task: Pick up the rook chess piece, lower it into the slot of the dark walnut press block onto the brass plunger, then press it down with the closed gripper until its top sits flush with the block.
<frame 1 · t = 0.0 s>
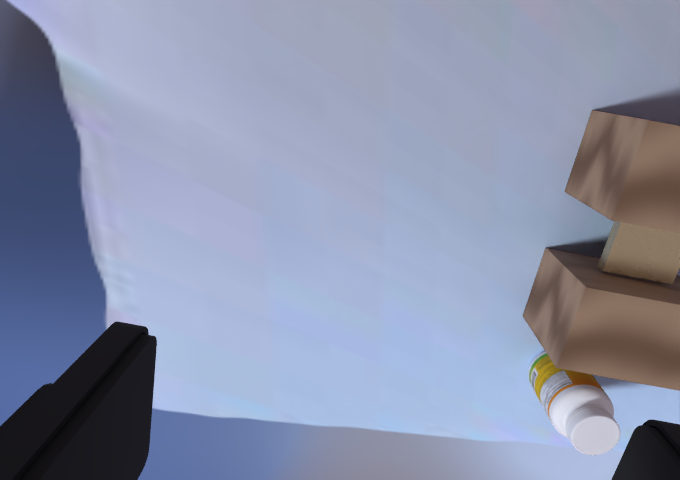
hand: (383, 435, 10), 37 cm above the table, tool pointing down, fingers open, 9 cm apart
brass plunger: (645, 249, 42), point 4 cm above the table, slide at 0.0 cm
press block: (619, 232, 46), on the table
supplement bottle: (553, 368, 51), on the table
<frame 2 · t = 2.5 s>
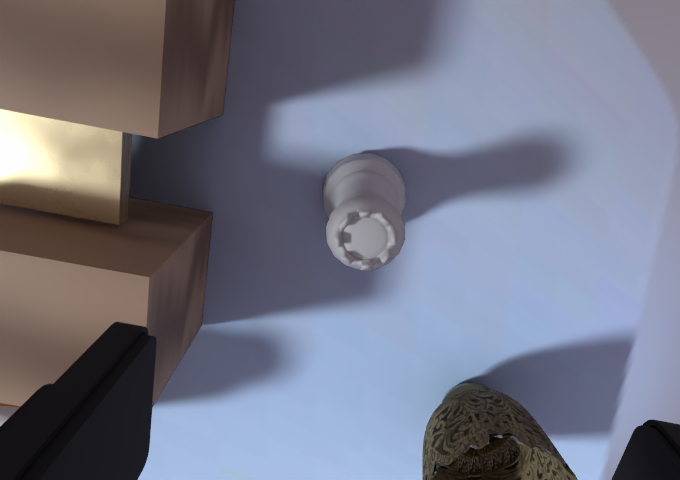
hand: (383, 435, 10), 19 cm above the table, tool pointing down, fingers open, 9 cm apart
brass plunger: (59, 159, 23), point 5 cm above the table, slide at 0.0 cm
cup: (467, 400, 32), on the table
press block: (106, 144, 27), on the table
rook chess piece: (363, 191, 27), on the table
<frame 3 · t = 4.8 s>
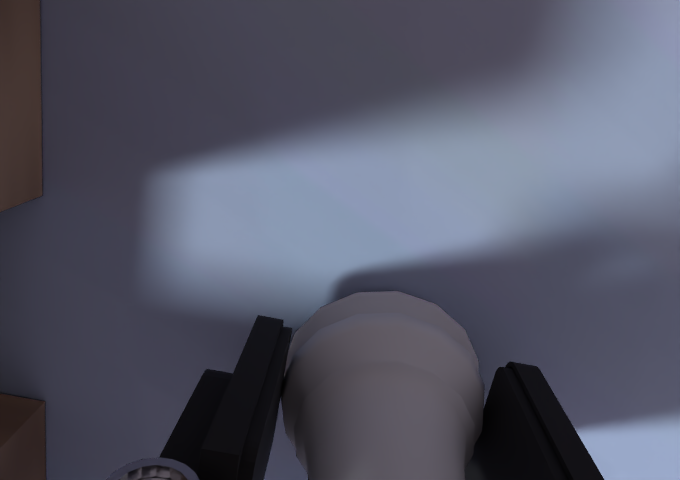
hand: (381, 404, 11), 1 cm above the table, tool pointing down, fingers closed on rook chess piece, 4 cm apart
rook chess piece: (379, 362, 12), on the table, touching gripper
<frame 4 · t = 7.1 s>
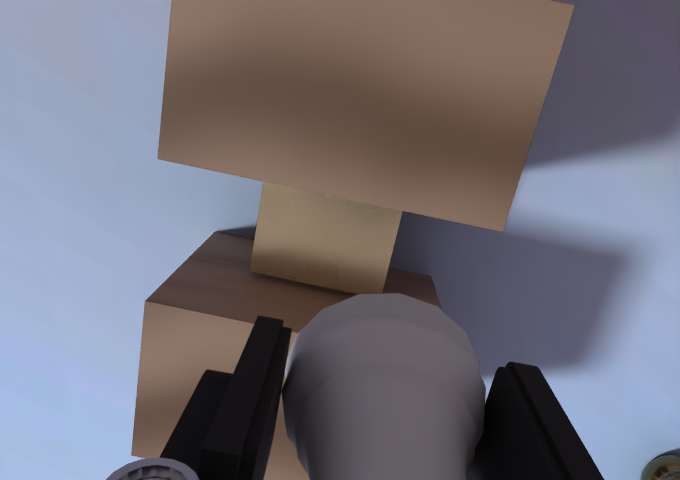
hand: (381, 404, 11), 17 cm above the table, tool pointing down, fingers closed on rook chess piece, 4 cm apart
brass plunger: (326, 231, 22), point 5 cm above the table, slide at 0.0 cm
cup: (664, 471, 31), on the table
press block: (333, 207, 27), on the table
rook chess piece: (380, 364, 12), point 15 cm above the table, touching gripper
when the fingers open (8 cm above the table, at t = 9.4 s): rook chess piece drops 5 cm, resting on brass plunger.
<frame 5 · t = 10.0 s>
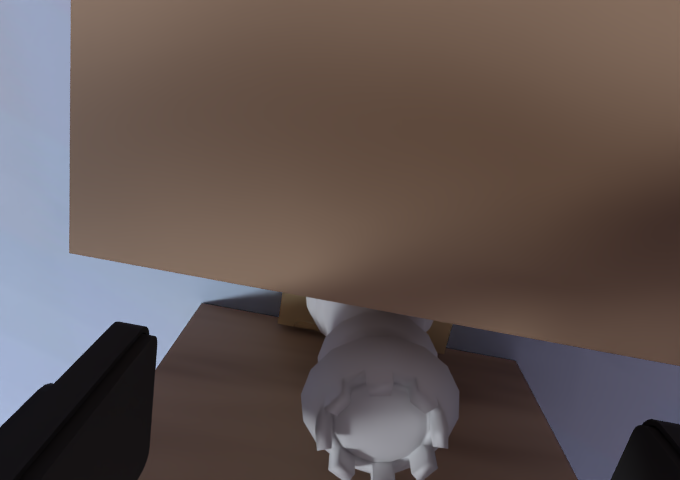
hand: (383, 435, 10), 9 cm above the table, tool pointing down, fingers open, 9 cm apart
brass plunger: (374, 272, 18), point 1 cm above the table, slide at 4.0 cm, touching rook chess piece
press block: (374, 266, 18), on the table
rook chess piece: (372, 272, 17), point 1 cm above the table, touching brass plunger
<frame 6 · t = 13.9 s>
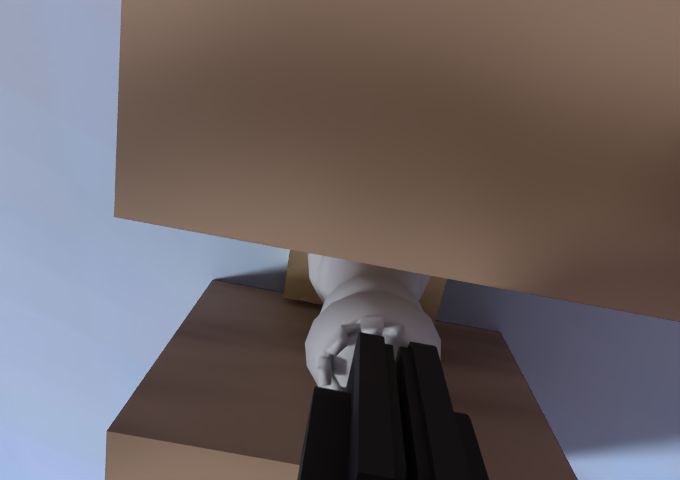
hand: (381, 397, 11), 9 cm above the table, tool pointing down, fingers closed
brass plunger: (370, 249, 19), point 1 cm above the table, slide at 4.0 cm, touching rook chess piece
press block: (370, 245, 20), on the table
rook chess piece: (368, 249, 19), point 1 cm above the table, touching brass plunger
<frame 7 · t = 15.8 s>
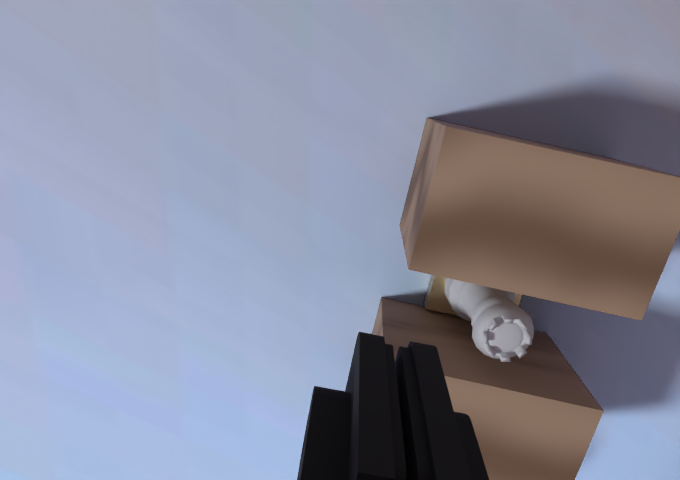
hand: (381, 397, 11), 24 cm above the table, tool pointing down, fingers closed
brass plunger: (476, 283, 34), point 1 cm above the table, slide at 4.0 cm, touching rook chess piece
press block: (475, 280, 35), on the table
rook chess piece: (476, 283, 34), point 1 cm above the table, touching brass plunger
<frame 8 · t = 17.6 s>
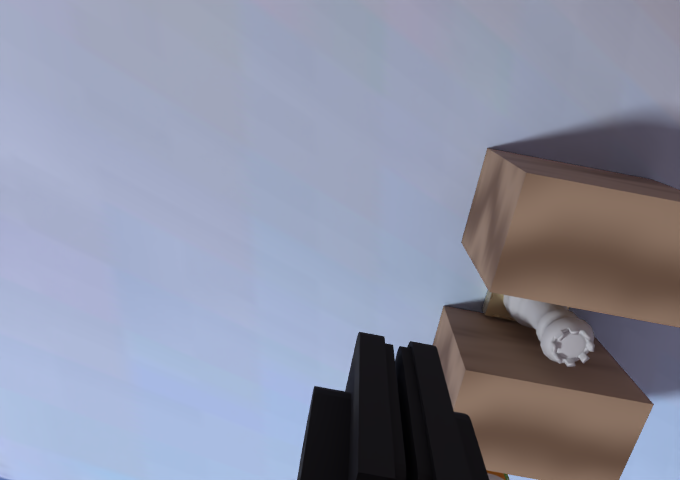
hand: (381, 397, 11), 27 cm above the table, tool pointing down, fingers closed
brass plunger: (530, 291, 38), point 1 cm above the table, slide at 4.0 cm, touching rook chess piece
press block: (528, 288, 39), on the table
rook chess piece: (530, 291, 38), point 1 cm above the table, touching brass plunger
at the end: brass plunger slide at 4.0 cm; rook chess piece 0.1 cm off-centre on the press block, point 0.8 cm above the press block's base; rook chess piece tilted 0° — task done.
